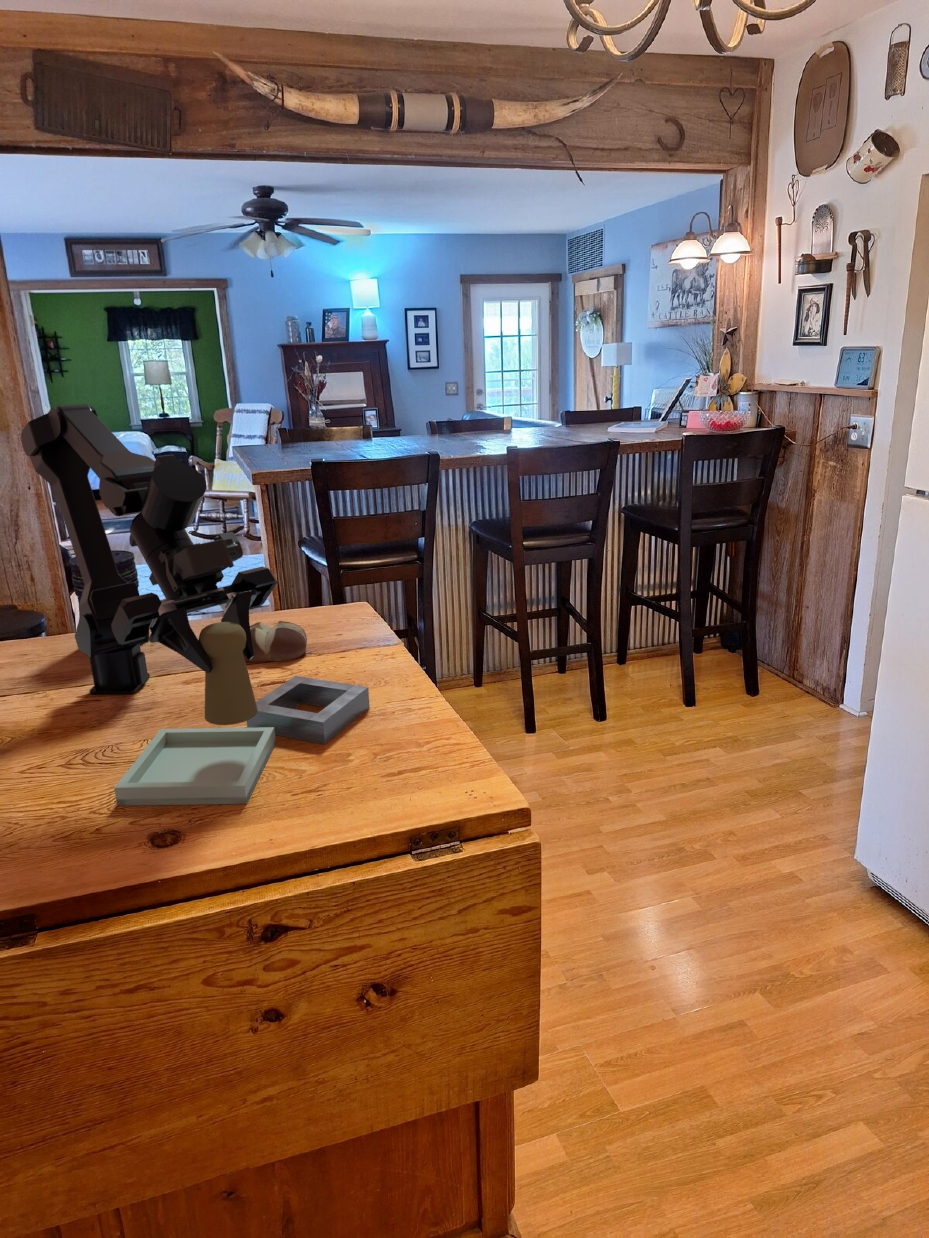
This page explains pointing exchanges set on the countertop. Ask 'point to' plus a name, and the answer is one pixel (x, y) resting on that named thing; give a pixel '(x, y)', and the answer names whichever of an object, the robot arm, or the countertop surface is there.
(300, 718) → the metal collar
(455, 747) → the countertop surface
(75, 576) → the black cylinder
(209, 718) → the olive pepper mill
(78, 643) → the robot arm
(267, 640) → the bread
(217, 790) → the green tray
